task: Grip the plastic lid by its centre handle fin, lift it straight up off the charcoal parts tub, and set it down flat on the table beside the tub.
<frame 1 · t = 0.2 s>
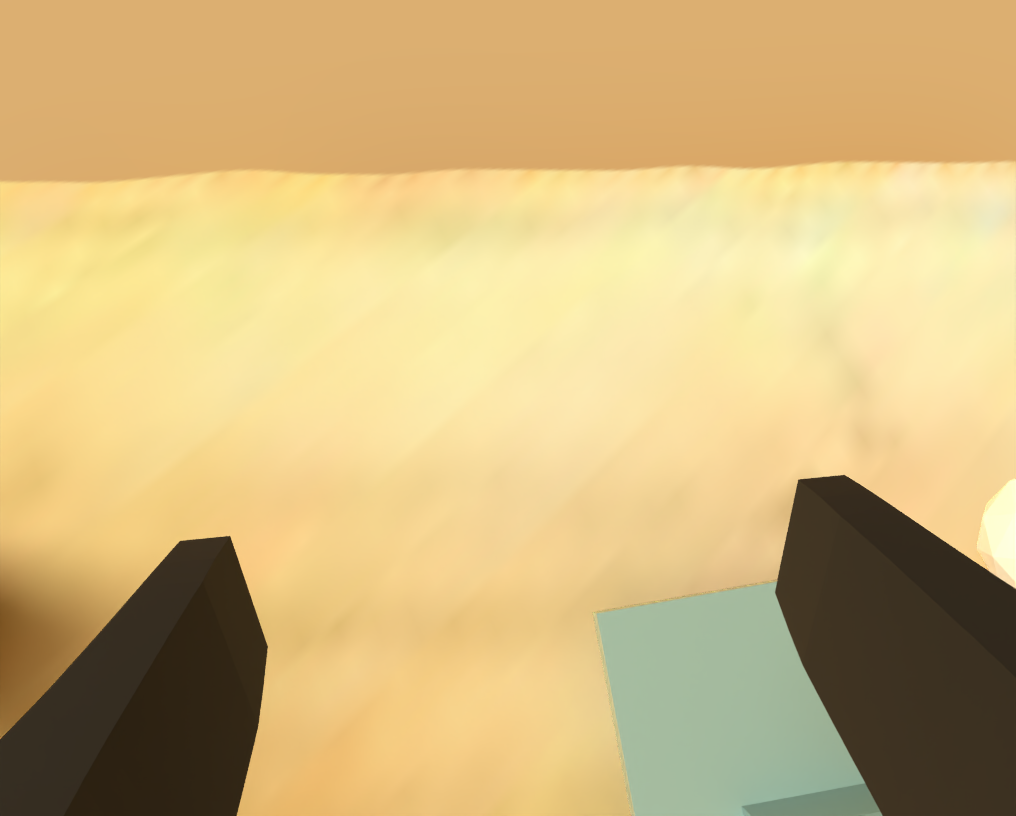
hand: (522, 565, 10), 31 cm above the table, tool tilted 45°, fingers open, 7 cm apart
lid: (796, 797, 34), point 3 cm above the table, touching tub
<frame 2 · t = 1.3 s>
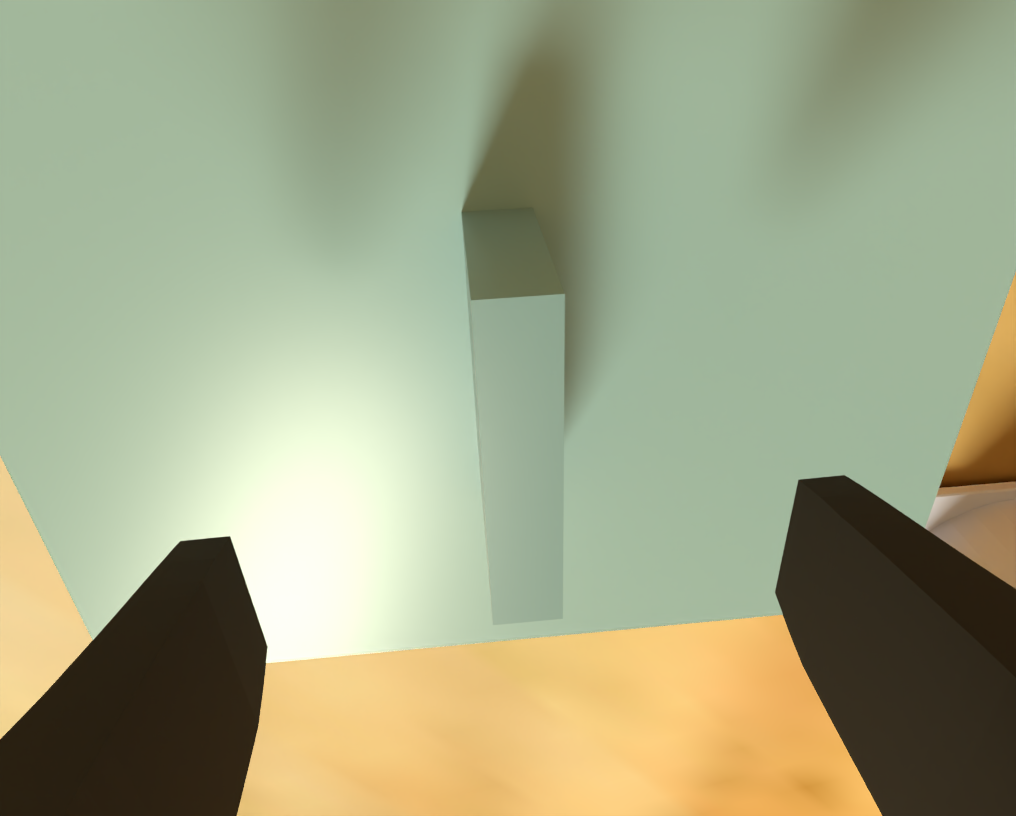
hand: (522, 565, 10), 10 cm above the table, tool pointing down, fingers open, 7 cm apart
lid: (496, 324, 16), point 3 cm above the table, touching tub
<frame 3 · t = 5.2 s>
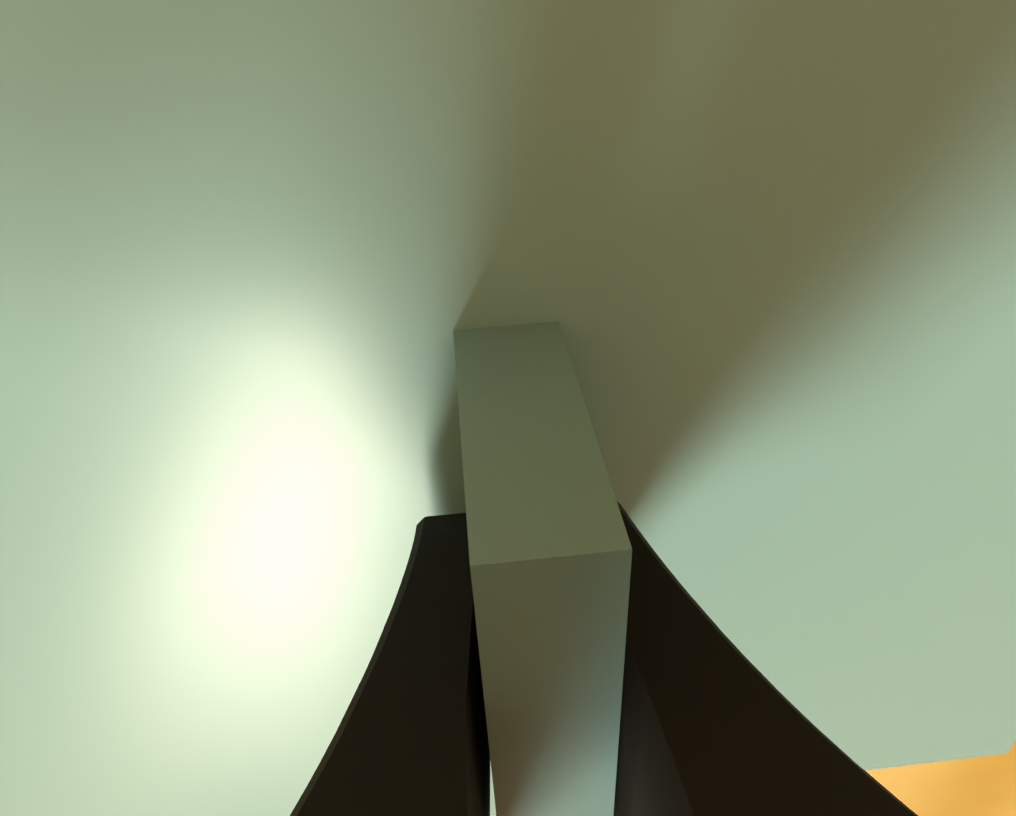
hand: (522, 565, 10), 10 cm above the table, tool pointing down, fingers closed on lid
lid: (504, 441, 12), point 8 cm above the table, touching gripper
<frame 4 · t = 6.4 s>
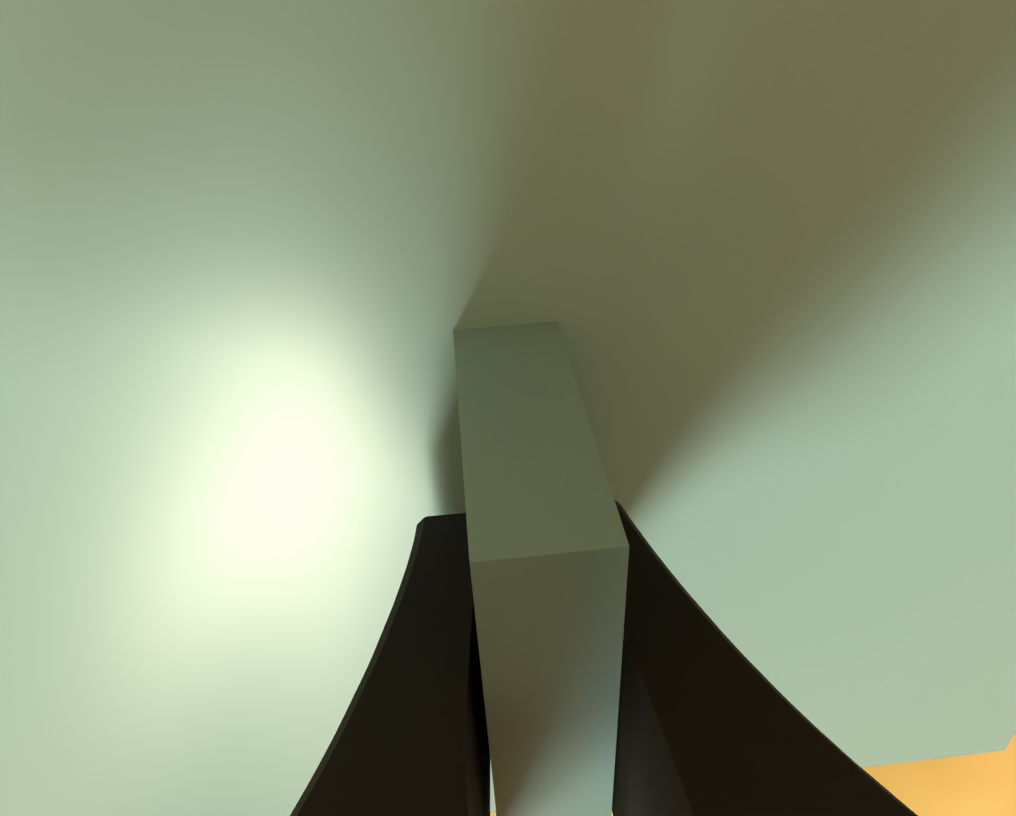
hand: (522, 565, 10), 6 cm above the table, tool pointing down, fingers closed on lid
lid: (503, 440, 12), point 3 cm above the table, touching gripper
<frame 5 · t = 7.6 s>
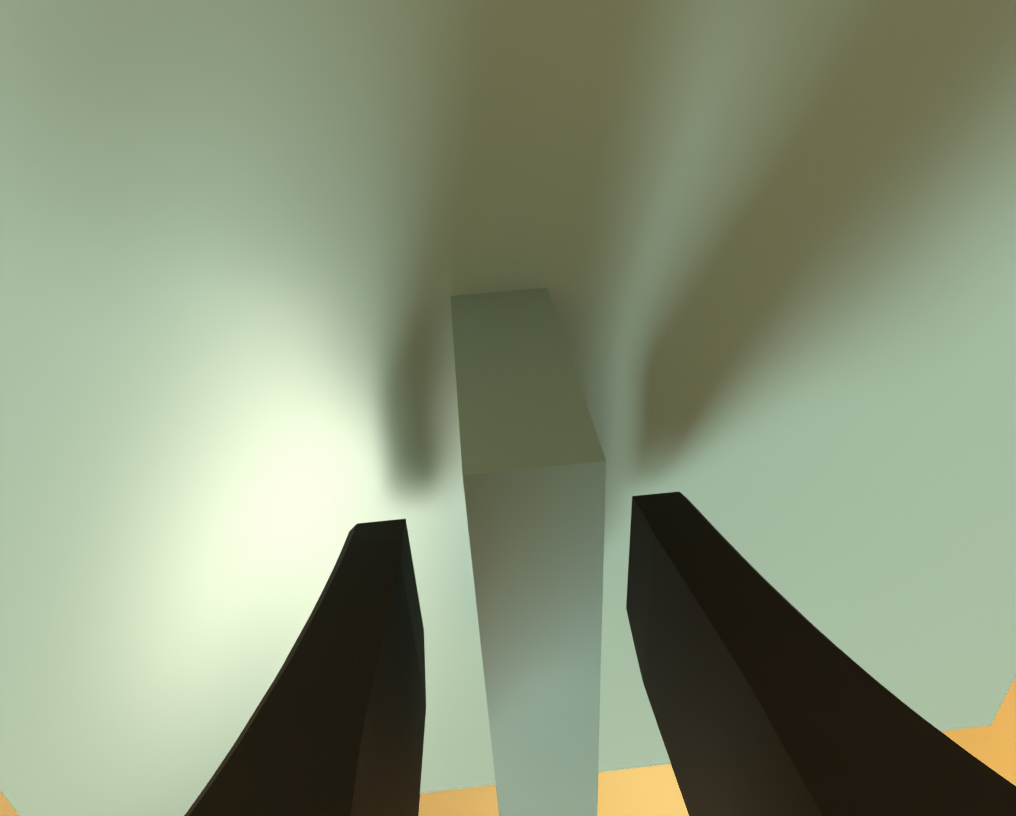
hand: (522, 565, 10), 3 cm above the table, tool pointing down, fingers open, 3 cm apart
lid: (500, 414, 12), on the table
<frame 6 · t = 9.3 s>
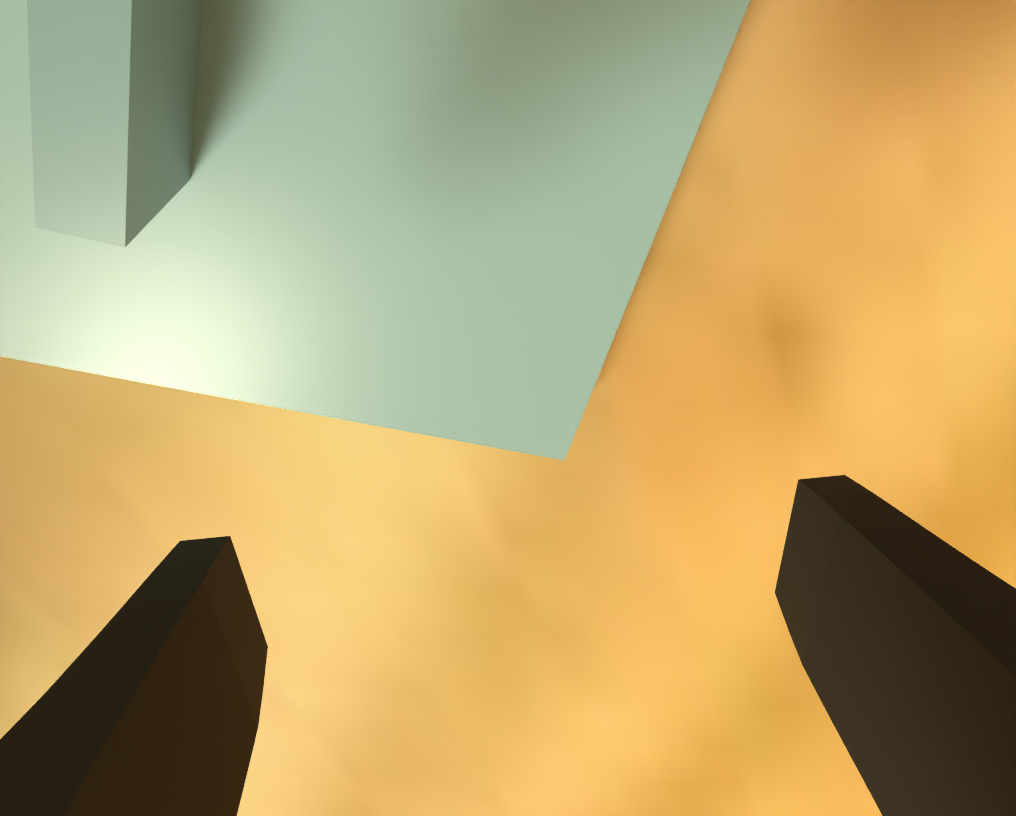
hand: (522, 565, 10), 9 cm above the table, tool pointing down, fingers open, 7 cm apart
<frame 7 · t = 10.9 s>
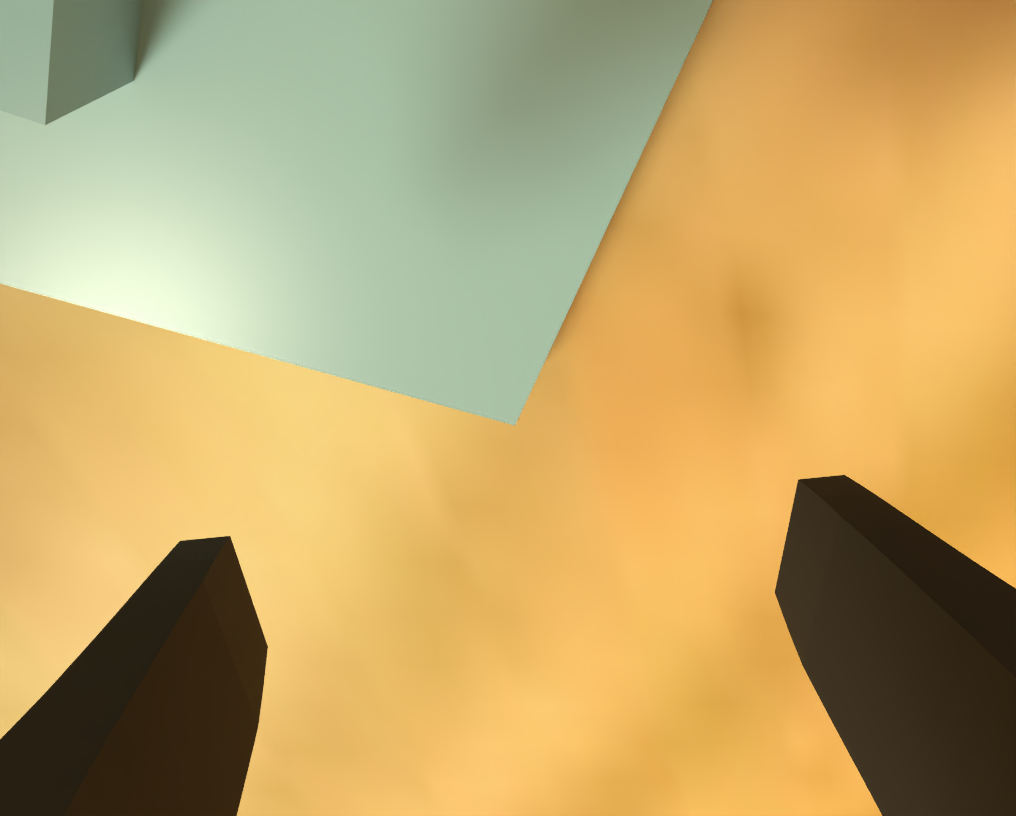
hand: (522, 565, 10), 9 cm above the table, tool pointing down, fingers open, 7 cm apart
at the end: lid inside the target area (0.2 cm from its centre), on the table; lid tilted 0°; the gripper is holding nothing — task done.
